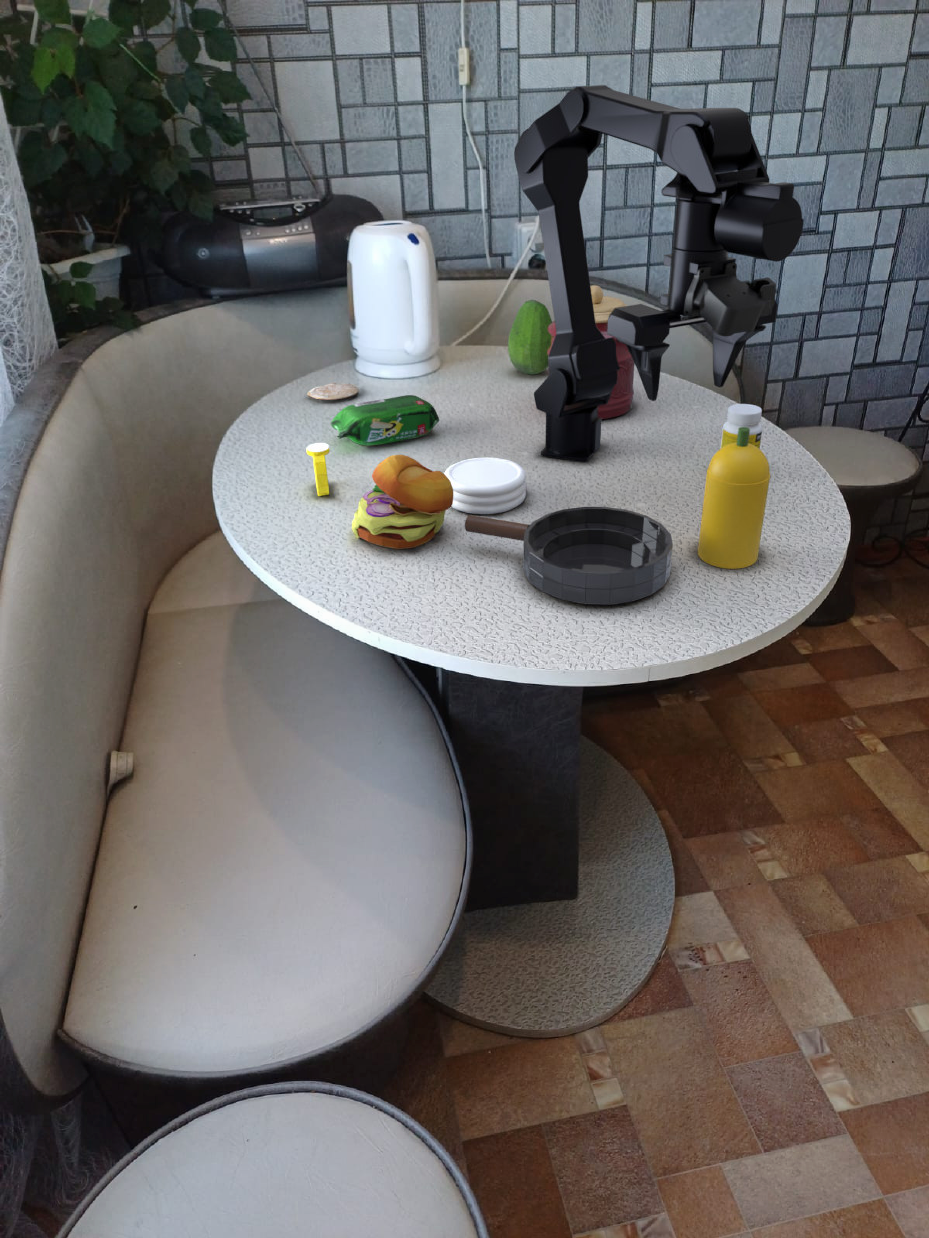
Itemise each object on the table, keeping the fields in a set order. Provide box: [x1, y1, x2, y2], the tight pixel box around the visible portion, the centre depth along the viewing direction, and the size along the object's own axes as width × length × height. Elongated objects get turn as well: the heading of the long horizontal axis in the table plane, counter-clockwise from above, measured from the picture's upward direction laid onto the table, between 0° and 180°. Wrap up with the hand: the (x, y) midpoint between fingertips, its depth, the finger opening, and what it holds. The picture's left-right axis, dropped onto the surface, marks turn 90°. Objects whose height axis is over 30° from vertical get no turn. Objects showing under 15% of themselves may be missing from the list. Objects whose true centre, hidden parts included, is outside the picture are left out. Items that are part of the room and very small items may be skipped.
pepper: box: [697, 427, 771, 570], centre depth 96 cm, size 6×6×14 cm
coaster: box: [443, 457, 527, 515], centre depth 113 cm, size 10×10×4 cm
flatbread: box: [306, 382, 360, 401], centre depth 149 cm, size 8×8×1 cm
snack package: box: [330, 394, 440, 446], centre depth 131 cm, size 7×16×5 cm, turn 115°
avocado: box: [507, 299, 553, 376], centre depth 153 cm, size 8×8×12 cm
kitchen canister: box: [547, 284, 635, 420], centre depth 136 cm, size 13×13×18 cm
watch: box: [305, 442, 331, 497], centre depth 116 cm, size 6×3×6 cm, turn 11°
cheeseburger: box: [351, 454, 453, 550], centre depth 105 cm, size 10×11×10 cm
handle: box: [464, 514, 530, 542], centre depth 100 cm, size 7×2×2 cm, turn 66°
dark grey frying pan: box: [522, 506, 674, 606], centre depth 97 cm, size 15×15×4 cm
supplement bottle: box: [719, 403, 763, 450], centre depth 116 cm, size 5×5×8 cm
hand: (685, 393), depth 105 cm, fingers open, 9 cm apart
